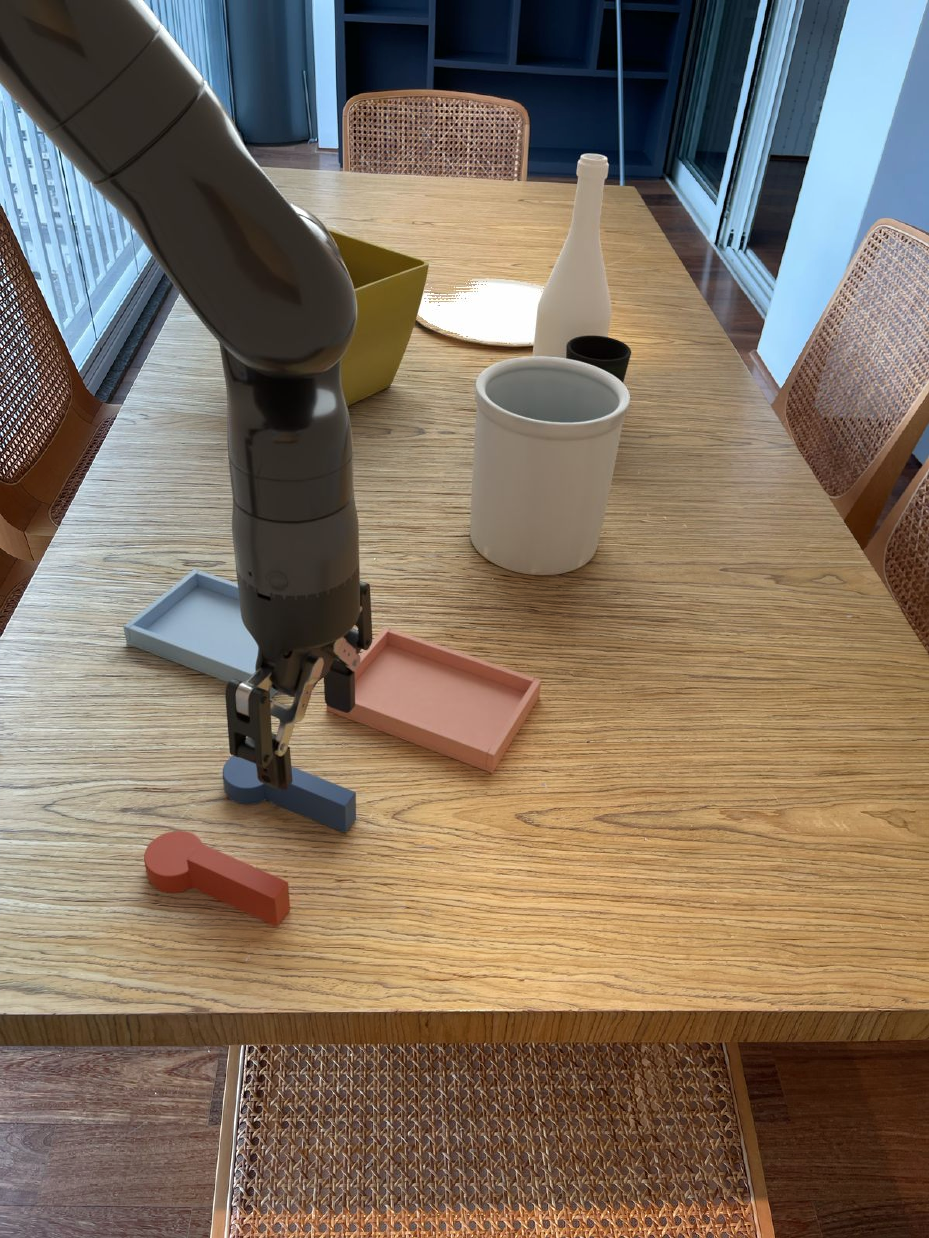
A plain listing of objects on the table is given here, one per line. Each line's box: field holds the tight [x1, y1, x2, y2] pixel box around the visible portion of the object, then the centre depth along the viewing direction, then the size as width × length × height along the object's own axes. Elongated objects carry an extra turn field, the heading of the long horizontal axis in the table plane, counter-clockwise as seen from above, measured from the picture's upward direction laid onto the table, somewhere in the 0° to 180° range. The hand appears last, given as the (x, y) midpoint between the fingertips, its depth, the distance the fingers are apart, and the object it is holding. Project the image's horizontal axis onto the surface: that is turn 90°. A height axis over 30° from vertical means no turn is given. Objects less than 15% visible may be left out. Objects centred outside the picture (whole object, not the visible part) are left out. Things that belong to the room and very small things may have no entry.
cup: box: [566, 335, 632, 384], centre depth 122 cm, size 8×8×12 cm
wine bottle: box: [532, 153, 613, 359], centre depth 127 cm, size 10×10×30 cm
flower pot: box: [327, 228, 430, 407], centre depth 128 cm, size 19×19×17 cm
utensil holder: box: [469, 355, 631, 576], centre depth 101 cm, size 15×15×18 cm
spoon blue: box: [221, 755, 357, 834], centre depth 75 cm, size 11×4×3 cm, turn 65°
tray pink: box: [325, 626, 543, 774], centre depth 85 cm, size 15×10×2 cm
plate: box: [416, 278, 545, 348], centre depth 157 cm, size 29×29×1 cm
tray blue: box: [123, 568, 279, 699], centre depth 90 cm, size 15×10×2 cm
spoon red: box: [143, 830, 291, 928], centre depth 68 cm, size 11×4×3 cm, turn 65°
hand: (309, 743), depth 71 cm, fingers open, 8 cm apart
